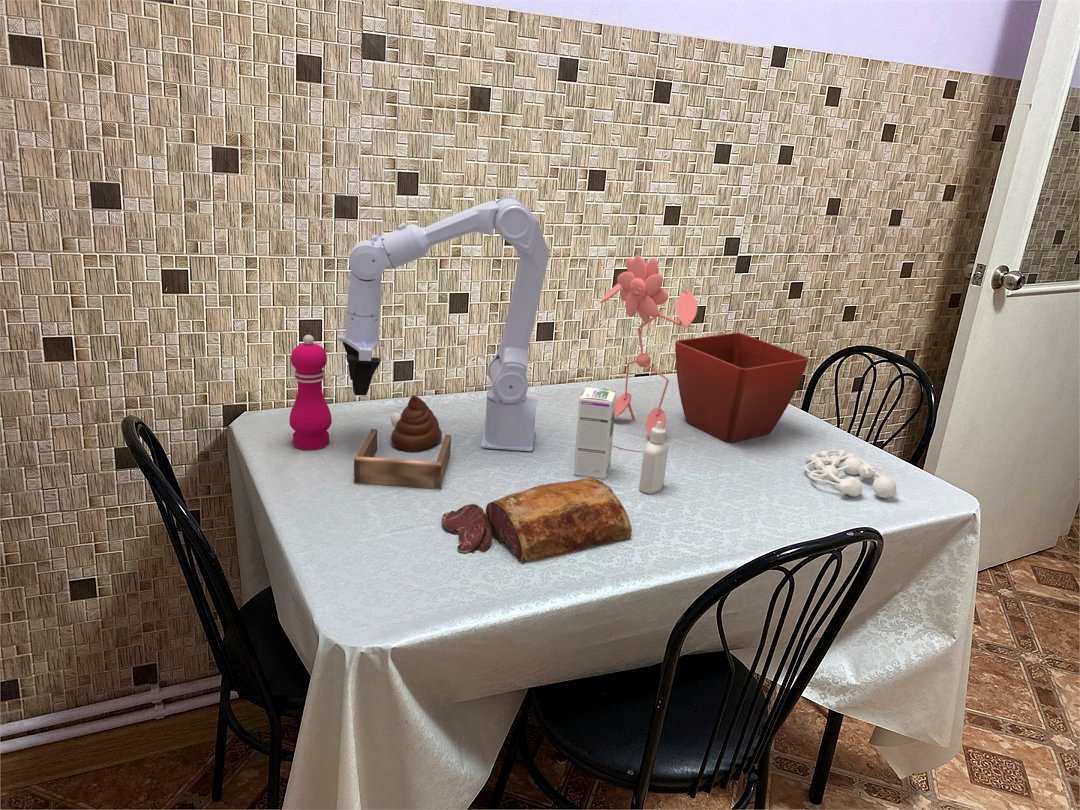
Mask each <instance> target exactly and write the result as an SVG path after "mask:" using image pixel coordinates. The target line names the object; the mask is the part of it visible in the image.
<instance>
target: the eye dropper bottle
mask: <svg viewBox="0 0 1080 810" xmlns="http://www.w3.org/2000/svg"><path fill="white" fill-rule="evenodd" d="M666 433H667V430H666V429H665V428H664V429H663V428H662V422H660V421H658V422H657V425H656V427H654V428H652V429H651V435H650V437H649V441H648V442H647V443H646V445H645V446H644V448H643V452H642V453H643V455H642V463H641V468H640V469H641V471H640V477H639V486H638V489H639V491H640V492H643V493H646V494H649V495H653V494H655V493H658V492H659V491H661V490H662V489H663V486H664V484H665V478H666V477H665V476H666V467H667V461H668V453H669V445H668V443H667V442H666V441H665V440H666V435H665V434H666Z"/></svg>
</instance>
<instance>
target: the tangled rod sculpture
mask: <svg viewBox="0 0 1080 810" xmlns="http://www.w3.org/2000/svg"><path fill="white" fill-rule="evenodd" d="M830 453H836V455H831V456H829V454H830ZM805 459H806V460H809V462H808V463H806V464H805V465H804V466H803V470H804V471H805V472H807V473H808V474H809V478H810V479H811V480H812V481H816V482H820V483H825V484H826V483H827V484H830V485H832V486H836V487H838V490H839V491H840V492H842V493H843V494H846V495H847V496H849V497H857V496H859V495H861V494H862V492H863V484H862V482H861V480H860V479H858V478H856V477H853V476H857V475H859V476H860V477H861V478H865V479H868V478H871V477H873V476H875V477H877V478H876V479H874V480H873V483H872V490H873V492H874V494H875V495H876V496H878V497H880V498H882V499H883V498H884V499H887V498H890V497H892V496H894V495H895V493H896V491H897V483H896V481H895V480H894V479H893V478H892V477H890V476H886V475H882V474H881V473H879V472H877V470H879V471H880V472H883V467H881V466H880V467H877V466H876V467H875V466H873V465H872V464H871V463H869V462H867V461H866V460H863V459H862V458H861V457H858V456H856V455H855V454H854V453H853V452H846V451H845V449H829V450H827V451H826V450H821V451H820V452H814V453H812V454H810V455H806V456H805ZM841 461H843V464H842V466H841V467H839V465H840V463H841ZM825 463H828V464H827V465H825ZM811 465H813V466H814V467H815V469H814V470H812V471H811V470H809V469H808V467H809V466H811ZM837 467H838V468H837ZM841 471H844V472H845V473H846V474H848V475H851V476H852V477H851V476H850V477H848V478H845V479H844V478H842V479H841V478H839V472H841ZM817 477H818V478H817ZM821 478H822V479H821ZM834 481H835V482H834Z"/></svg>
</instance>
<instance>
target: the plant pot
mask: <svg viewBox="0 0 1080 810" xmlns="http://www.w3.org/2000/svg"><path fill="white" fill-rule="evenodd" d="M674 346H675V347H674V349H675V352H674V354H675V370H676V379H677V386H678V391H679V392H678V393H679V398H680V403H681V407H682V411H683V414H684V415H683V416H684V418H685V421H686V423H689V424H691V425H693V426H695V427H697V428H699V429H701V430H702V431H704V432H706V433H708V434H709V435H713V436H714V437H716V438H719V440H722V441H724V442H727V443H734V442H738V441H743V440H746V439H751V438H757V437H760V436H764V435H768V434H771V433H772V431H773V430H774V429H775V427H776V426H777V424H778V423H779V422H780V420H781V418H782V416H783V415H784V413H785V411H786V410H787V408H788V406H789V404H790V403H791V400H792V399H793V397H794V395H795V393H796V391H797V389H798V387H799V385H800V381H802V380H801V379H802V378H803V376H804V373H805V371H806V367H807V366H808V362H809V360H810V358H809V357H807V356H804V355H802V354H799V353H797V352H793V351H792V350H789V349H785V348H782V347H780V346H778V345H775V344H772V343H770V342H768V341H765V340H761V339H758V338H755V337H753V336H750V335H747V334H744V333H742V332H733V333H732V332H731V333H725V334H716V335H707V336H700V337H699V336H698V337H694V338H693V337H691V338H685V339H677V340H675V345H674Z"/></svg>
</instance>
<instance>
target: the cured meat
mask: <svg viewBox="0 0 1080 810" xmlns="http://www.w3.org/2000/svg"><path fill="white" fill-rule="evenodd" d="M441 524H442V527H443V528H444V529H445V530H447V531H450V532H451V533H452V534H454V535H458V542H459V544H458V545H457V551H458V552H459V553H462V554H463V553H464V554H466V553H468V552H470V553H471V554H472V555H473V554H474V555H475V551H478V552H480V553H482V554H484V553H486V552H487V550H488V549H489V548H490V546H491V545H492V543H491V542H492V538H493V539H494V540H495V541H496V542H497V543H499V544H500V543H503V542H505V543H506V545H507V546H508V547H509V549H511V551H512V552H513V553H514V557H515V559H516V560H517V561H519V563H520V564H521V563H526V562H531V561H534V560H541V559H545V558H553V557H558V556H562V555H567V554H572V553H576V552H579V551H581V550H586V549H588V548H591V547H593V546H598V545H599V546H600V545H604V544H606V543H607V544H608V543H612V542H617V541H618V542H619V541H621V540H628V539H631V538H632V536H633V534H632V533H633V528H632V523H631V520H630V517H629V515H628V512H627V511H626V508H625V507H624V505H623V504H622V502H621V500H620V499H619V498H618V496H617V495H616V493H615V492H614V491H613V488H612V487H610V486H608V485H607V484H606V483H605V482H604V481H603V480H602V481H601V479H598V478H593V477H592V478H591V477H586V478H585V477H584V478H582V479H581V478H580V479H576V480H568V481H563V482H561V481H560V482H554V483H553V482H550V483H547V484H546V483H545V484H541V485H537V486H534V487H531V488H527V489H524V490H523V491H519V492H516V493H511V494H508V495H505V496H502V497H501V498H498V499H496V500H493V501H490V502H489V503H487V505H486V508H485V511H484V509H483V508H482V507H481V506H479V505H478V504H475V503H469V504H466V505H463V506H461V507H459V509H457V510H456V511H454V510H451V511H448V512H445V513H443V514H442V517H441Z"/></svg>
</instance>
